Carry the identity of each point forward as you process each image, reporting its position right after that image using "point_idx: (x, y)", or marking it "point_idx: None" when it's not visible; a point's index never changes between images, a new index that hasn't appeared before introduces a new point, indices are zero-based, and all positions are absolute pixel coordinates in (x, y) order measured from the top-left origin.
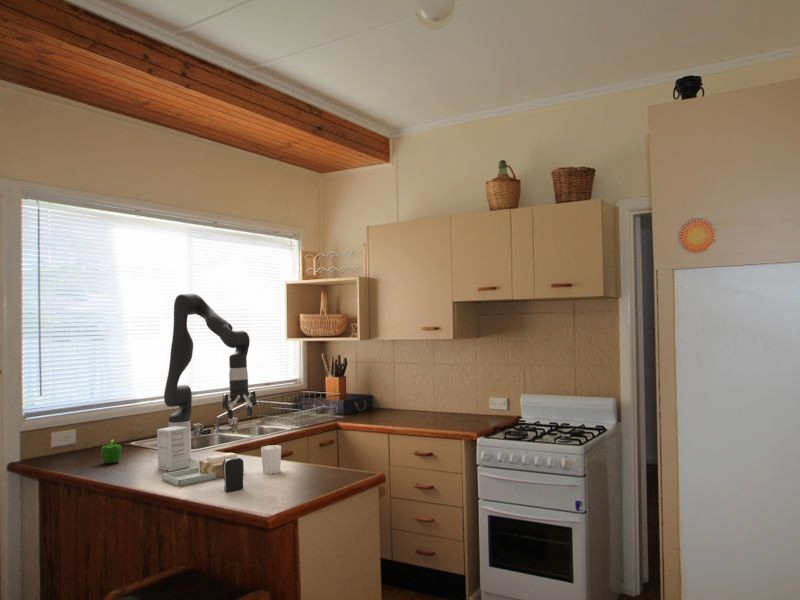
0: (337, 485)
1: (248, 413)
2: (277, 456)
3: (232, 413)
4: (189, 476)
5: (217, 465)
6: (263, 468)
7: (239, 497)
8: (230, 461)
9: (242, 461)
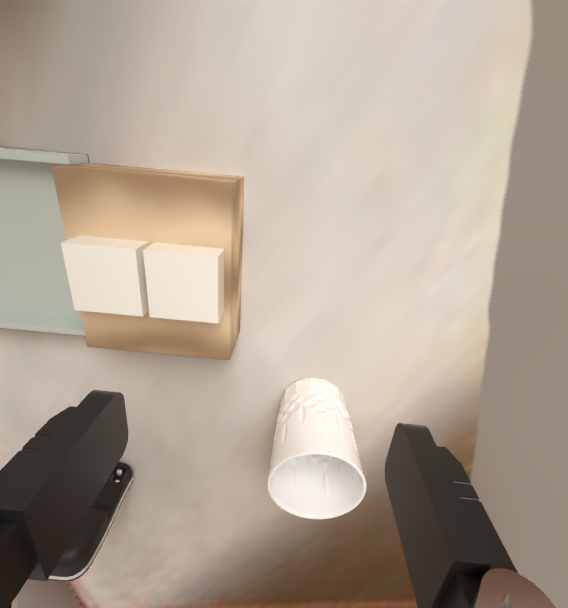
0: (314, 593)
1: (403, 478)
2: (315, 483)
3: (83, 516)
4: (23, 216)
5: (96, 347)
6: (280, 408)
7: None
8: None
9: (86, 569)
